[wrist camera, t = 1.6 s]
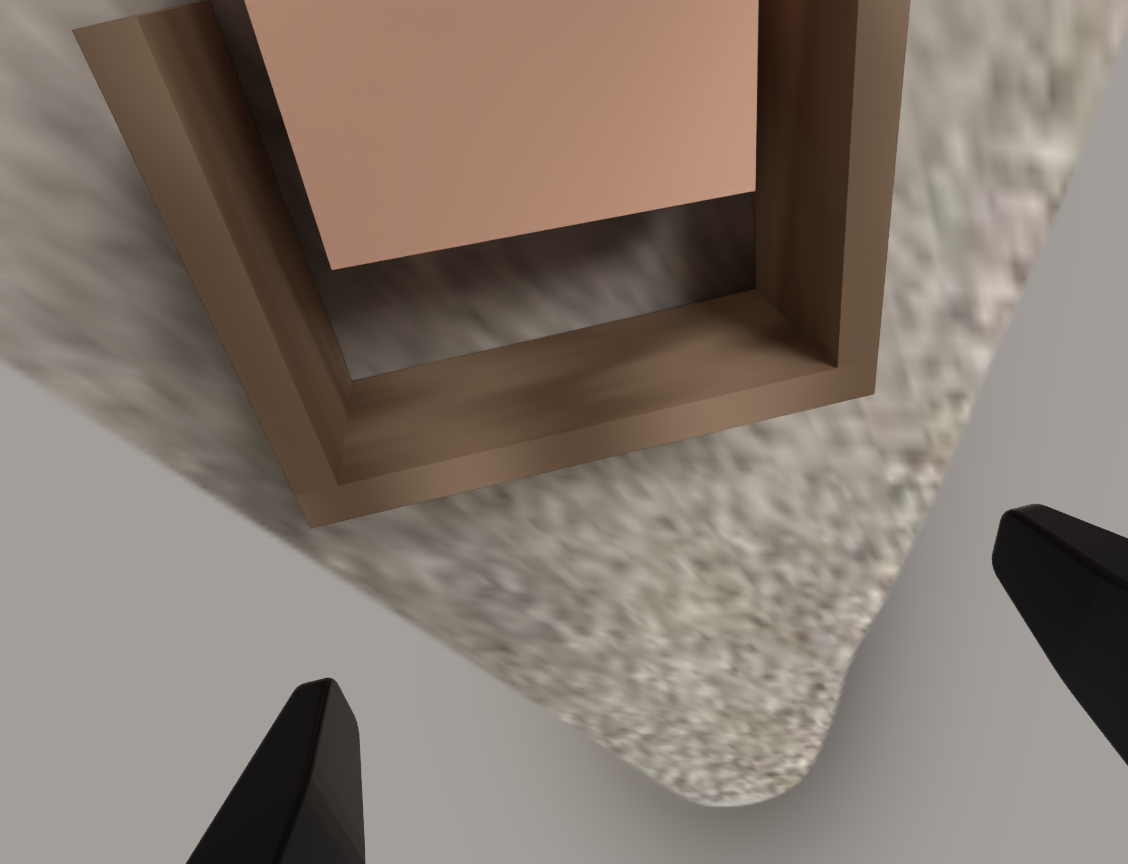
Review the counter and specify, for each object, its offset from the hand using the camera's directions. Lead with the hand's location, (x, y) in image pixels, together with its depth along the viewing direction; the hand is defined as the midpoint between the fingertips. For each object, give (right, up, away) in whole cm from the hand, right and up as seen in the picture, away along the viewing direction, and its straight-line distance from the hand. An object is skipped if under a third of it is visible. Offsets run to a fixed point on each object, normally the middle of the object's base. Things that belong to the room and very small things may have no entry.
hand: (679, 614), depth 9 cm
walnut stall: (-2, +9, +10) cm, 13 cm away
